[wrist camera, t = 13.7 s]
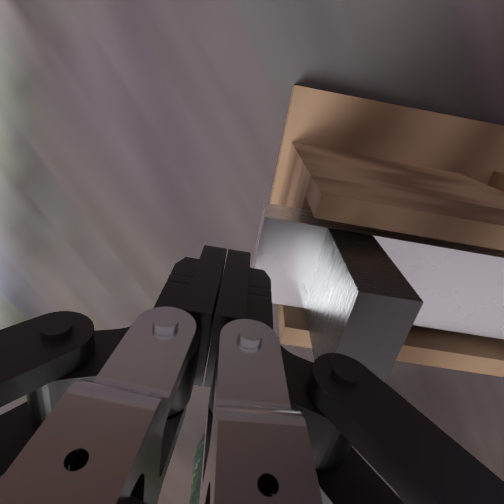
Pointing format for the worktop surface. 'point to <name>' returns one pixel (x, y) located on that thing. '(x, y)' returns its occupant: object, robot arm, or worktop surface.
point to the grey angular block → (376, 284)
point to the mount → (396, 194)
